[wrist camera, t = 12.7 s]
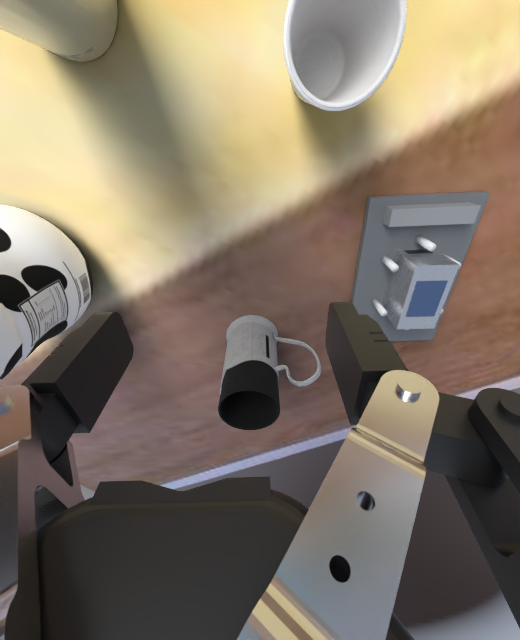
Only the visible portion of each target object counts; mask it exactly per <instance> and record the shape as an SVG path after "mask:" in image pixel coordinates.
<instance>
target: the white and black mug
mask: <svg viewBox="0 0 520 640" xmlns="http://www.w3.org/2000/svg"><path fill="white" fill-rule="evenodd" d="M226 339H227V349H226V355H225V361H224V368H223V374H222V380H221V386H220V401H219V407H218V411H219V415H220V417H221V418H222V420H223V421H224V422H225V423H227V424H228V425H230V426H232V427H235V428H238V429H243V430H257V429H262V428H265V427H267V426H269V425H271V424H272V423H274V422H275V421H276V420H277V418H278V416H279V414H280V403H279V390H278V383H279V373H278V371H280V370H286V374H287V377H288V379H289V381H290V382H291V383H292V384H294V385H295V386H300V387H301V386H307V385H309V384H311V383H313V382H314V381H316V379H317V378H318V377H319V376H320V373H321V363H320V361H319V358H318V356H317V354H316V353H315V351H314V350H313V349H312V348H311V347H310V346H309V345H307V344H306V343H304V342H302V341H298V340H293V339H286V338H280V337H278V331H277V329H276V327H275V326H274V324H273V323H272V322H271V321H269V320H268V319H266V318H264V317H261V316H257V315H247V316H242V317H240V318H238V319H236V320H234V321H233V322H232V323H231V324H230V325H229V327H228V329H227V332H226ZM277 341H280V342H285V343H292V344H296V345H300V346H303V347H305V348H306V349H308V350H309V351H310V352H312V354H313V355H314V356H315V358H316V361H317V367H318V368H317V371H316V373H315V374H314V375H313V376H312V377H310V378H309V379H307V380H305V381H295V380H293V379H292V378H291V375H290V371H289V369H288V367H287V366H286V365H280V366H278V360H277V348H276V344H277Z"/></svg>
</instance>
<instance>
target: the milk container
mask: <svg viewBox="0 0 520 640" xmlns="http://www.w3.org/2000/svg"><path fill="white" fill-rule="evenodd" d="M92 291H93V281H92V276H91V272H90V269H89V266H88V263H87V262H86V260H85V258H84V256H83V255H82V253H81V252H80V250H79V249H78V247H77V246H76V245H75V244H74V242H73V241H72V240H71V239H70V238H69V237H68V236H66V235H65V234H64V233H63V232H62V231H61V230H60V229H59V228H58V227H56V226H55V225H53V224H52V223H50V222H48V221H47V220H45V219H43V218H42V217H40V216H38V215H36V214H34V213H31V212H28V211H26V210H23V209H20V208H17V207H13V206H8V205H0V380H2V379H3V378H4V377H5V376H6V375H7V374H8V373H9V372H10V371H11V370H12V369H13V368H14V367H16V366H17V365H19V364H20V363H21V362H23V361H24V360H25V359H26V358H27V357H28V356H29V355H30V354H31V353H32V352H33V351H34V350H35V349H36V348H37V347H38V346H39V345H40V344H41V343H43V342H44V341H46V340H47V339H49V338H52V337H54V336H56V335H58V334H60V333H62V332H64V331H65V330H67V329H68V328H69V327H71V326H72V325H73V324H74V323H75V322H76V321H77V320H78V319H79V318H80V317H81V316H82V314H83V313H84V312H85V310H86V308H87V306H88V305H89V303H90V300H91V297H92Z"/></svg>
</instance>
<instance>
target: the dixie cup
mask: <svg viewBox="0 0 520 640" xmlns="http://www.w3.org/2000/svg"><path fill="white" fill-rule="evenodd" d="M405 25H406V0H290V1H289V4H288V7H287V12H286V16H285V22H284V33H283V46H284V56H285V62H286V66H287V69H288V73H289V75H290V80H291V84H292V87H293V89H294V91H295V93H296V94H297V96H298V97H299V98H300V99H301V100H302V101H304V102H306V103H308V104H312V105H313V106H315V107H317V108H319V109H322V110H326V111H342V110H347V109H350V108H352V107H355V106H357V105H359V104H360V103H362V102H363V101H365V100H366V99H368V98H369V97H370V96H371V95H372V94H373V93H374V92H375V91H376V90H377V89H378V88H379V87H380V86H381V84H382V83H383V82H384V80H385V79H386V77H387V76H388V74H389V73H390V71H391V69H392V67H393V65H394V63H395V61H396V59H397V56H398V54H399V51H400V48H401V44H402V41H403V36H404V31H405Z"/></svg>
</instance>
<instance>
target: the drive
mask: <svg viewBox="0 0 520 640" xmlns="http://www.w3.org/2000/svg"><path fill="white" fill-rule="evenodd" d="M393 262H394V263H396V264H397V265H398V266H399V269H398V270H397V271H396V272H393V271H391V272H390V275H389V279H388V283H387V287H386V291H385V295H384V299H383V303H382V306H383V307H384V309H385V310H386V311H387V315H386V316H387V317H388V318H389V320H390V321H391V322H392V324H393V325H394V327H395V328H396V329H434V328H435V325H436V323H437V320H438V318H439V315H440V313H441V310H442V308H443V305H444V303H445V300H446V298H447V295H448V293H449V290H450V288H451V285H452V283H453V280H454V278H455V275H456V273H457V270H458V268H459V265H460V264H458V263H456V262H455V261H453V260H451V259H450V258H448V257H446V256H445V255H443V254H441V253H440V252H438V251H436V250H433V251H429V250H427V249H419V250H396V252H395V256H394V260H393Z"/></svg>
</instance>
